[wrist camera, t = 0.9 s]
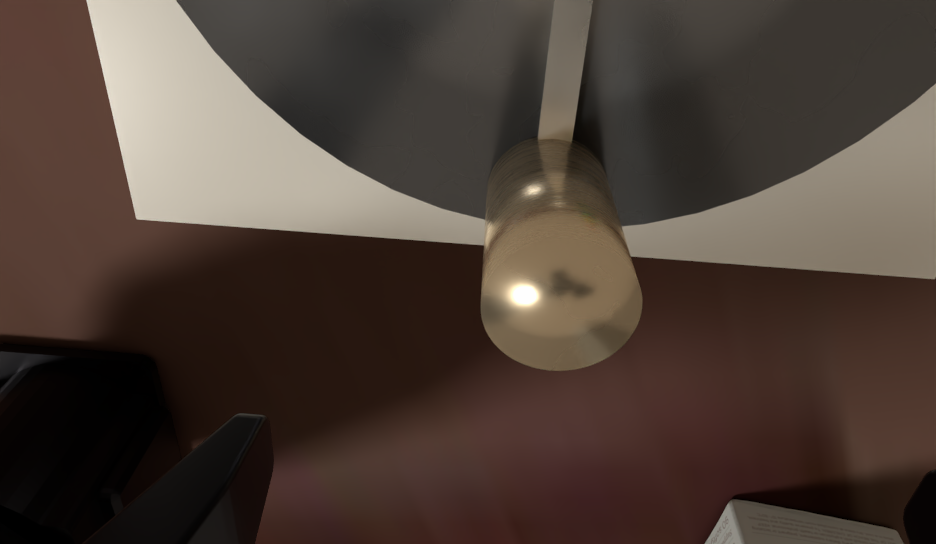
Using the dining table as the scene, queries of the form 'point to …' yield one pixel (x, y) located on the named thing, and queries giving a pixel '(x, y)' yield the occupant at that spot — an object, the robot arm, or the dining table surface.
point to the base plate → (403, 217)
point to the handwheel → (575, 121)
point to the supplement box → (792, 527)
